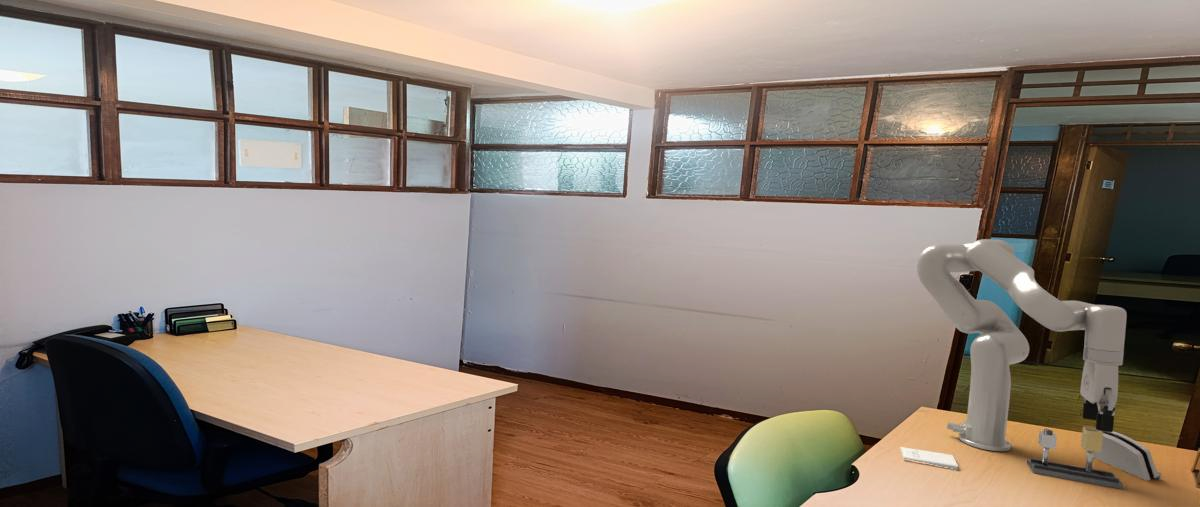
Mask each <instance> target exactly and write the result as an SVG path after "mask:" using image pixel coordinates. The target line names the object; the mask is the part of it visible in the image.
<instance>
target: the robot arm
mask: <svg viewBox="0 0 1200 507" xmlns="http://www.w3.org/2000/svg"><path fill="white" fill-rule="evenodd" d="M917 259H918V260H917V264H916V271H917V276H918V278H919V280H920V282H921V284H922V285H923V287H924V288H925V290H926V291H927V292H928V294H929V295H930V296H932V298H933V299H934V301H935V302H936V304H938V307H940V309H941V310H942V311H943V313H944V314H945V315H946V317H947V318H948V319H949V320H950V322H951V323H952V325H953V326H954V327H955V328H956V329H957V330H958V331H959V332H961V333H963V334H964V333H965V334H979V335H978V336H976V337H975V338H974V339H973V341H972V343H971V344H970V350H969V351H970V352H969V353H970V366H971V367H970V368H971V369H970V384H969V396H968V405H967V414H966V415H967V416H966V420H964V421H963V423H962V422H961V423H958V424H957V423H954V422H949V421H948V422H947V423H946V430H949V431H950V430H952V432H954V433H958V439H959V440H960V441H961V442H962V443H964V444H967V445H969V446H972V447H975V448H977V449H982V450H987V451H993V452H1008V451H1010V450H1012V444H1011V442H1010V441H1008V440H1007V439H1006V436H1007V426H1008V416H1009V407H1010V398H1011V387H1012V379H1011V371H1010V365H1015V364H1018V363H1021V362H1023V361H1025V360H1026V359H1027V358H1028V356H1029V353H1030V344H1029V342H1028V339H1027V338H1026V336H1025V335H1024V333H1022V331H1021V330H1020V329H1019V328H1018V327H1017V325H1016V324H1015V323H1014V322H1013V321H1012V319H1011V318H1010V317H1009V316H1008V315H1007V313H1006V312H1005V311H1004V310H1003V309H1002V308H1001V307H1000V306H999V305H997V303H995V302H994V301H991V300H986V299H975V297H974V296H972V294H971V293H970V292H969V291H968V290H967V289H966V287H965V286H964V285H963V284H962V282H960V281H959V280H957V279H956V278H955V277H954V276H953V275H952V274H951V273H963V272H965V273H966V272H977V271H979V272H980V273H982V274H983V275H984V276H985V277H987V278H988V279H990V280H991V281H992V282H994V284H995V283H996V284H997V285H998V287H999V286H1000V288H1002V289H1003V290H1005V291H1006V293H1008V294H1009V295H1010V298H1011V299H1012V301H1013V302H1014V303H1015V304H1016V305H1017V306H1018V308H1019V309H1020V310H1021V311H1023V312H1024V313H1025V314H1027V315H1028V316H1029V317H1030V318H1032V319H1033V320H1034V321H1036V322H1037V323H1039V324H1040V325H1041V326H1043V327H1045V328H1047V329H1049V330H1051V331H1054V332H1068V331H1069V332H1070V331H1084V344H1083V346H1084V347H1083V355H1082V360H1083V361H1084V364H1083V368H1082V369H1083V370H1082V373H1081V374H1082V375H1081V382H1080V390H1079V393H1080V396H1082V398H1083V407H1082V408H1083V409H1082V418H1083V419H1084V420H1091V421H1095V428H1096V429H1097V430H1099V431H1106V432H1113V431H1114V422H1115V421H1114V420H1115V416H1116V415H1115V414H1116V413H1115V411H1116V404H1117V401H1118V395H1119V394H1118V393H1119V391H1118V390H1119V366H1122V365H1123V363H1124V354H1125V351H1124V350H1125V340H1126V328H1127V317H1128V316H1127V314H1128V313H1127V311H1126V309H1124V308H1123V307H1119V306H1115V305H1106V304H1093V303H1088V302H1084V301H1080V300H1060V299H1058V298H1056V296H1054V295H1052V294H1051V293H1049V292H1048V291H1047V290H1045V289H1044V288H1043V287H1042V286H1040V284H1039V283H1038V282H1037V280H1036V279H1035V270H1034V269H1033V268H1032V267H1031V265H1028V264H1026V262H1024V261H1022V260H1021V259H1019V257H1016V255H1015V250H1014V248H1013V247H1012V245H1011V244H1009V243H1008V242H1006V241H1005V240H1002V239H989V238H985V239H984V238H982V239H978V240H975V241H973V242H971V243H963V244H962V243H961V244H960V243H959V244H957V243H955V244H954V243H953V244H952V243H950V244H949V243H938V244H933V245H930V246H927V247H926V248H925V249H924V250H922V251H921V252H920V255H919V256H918V258H917Z"/></svg>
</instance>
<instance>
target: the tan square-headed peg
mask: <svg viewBox="0 0 1200 507" xmlns="http://www.w3.org/2000/svg"><path fill="white" fill-rule="evenodd" d="M1081 433H1082V434H1081V440H1080V441H1081V443H1080V447H1081V448H1083V450H1084V451H1086V450H1087V454H1086V461H1085V467H1084V468H1085V469H1086V471H1088V472H1090V471H1091V470H1092V469H1093V460H1094V457H1093V453H1094V452H1099V453H1101V449H1102V441H1103V432H1102V431H1099V430H1097V429H1096V427H1090V426H1084V425H1083V426H1082V432H1081Z"/></svg>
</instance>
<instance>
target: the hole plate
mask: <svg viewBox="0 0 1200 507" xmlns="http://www.w3.org/2000/svg"><path fill="white" fill-rule="evenodd" d="M1038 431H1039V432H1038V438H1037V439H1038V442H1037V443H1038V444H1039V446H1040V447H1041V448H1043V450H1042V458H1041V459H1037V458H1033V457H1032V458H1028V457H1027V458H1026V464H1027V466H1028V467H1029V468H1030V470H1031V472H1032V473H1033V474H1037V475H1042V476H1048V477H1053V478H1060V479H1064V480H1069V481H1076V482H1081V483H1086V484H1092V485H1098V486H1103V487H1107V488H1114V489H1120V490H1124V483H1123V482H1122V481H1120V479H1119V478H1118V477H1117V476H1116V475H1115V474H1114V473H1113V471H1105V470H1100V469H1095V468H1092V470H1091V471H1090V472H1088V471H1086V469H1085V467H1083V466H1077V465H1076V466H1075V465H1073V464H1072V465H1071V464H1065V463H1061V462H1054V461H1049V455H1050V449H1052V450H1055V449H1057V448H1056V446H1057V439H1058V436H1057V435H1056V434H1055V433H1054V430H1051V429H1049V428H1044V429H1043V430H1038Z"/></svg>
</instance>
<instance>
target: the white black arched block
mask: <svg viewBox="0 0 1200 507" xmlns="http://www.w3.org/2000/svg"><path fill="white" fill-rule="evenodd" d="M1102 432H1103V441H1102V449H1101V453H1099V452H1094V453H1093V459H1096V460H1098V461H1100V460H1101V462H1102V463H1105V464H1107V463H1108V465H1109V464H1110V466H1112V467H1114V466H1115V467H1114V468H1116V467H1117V469H1118V468H1119V469H1118V470H1121V471H1123V470H1124V471H1123V472H1125V471H1126V473H1127V472H1128V474H1131V475H1132V474H1133V475H1132V476H1134V475H1135V476H1134V477H1137V478H1139V477H1140V478H1139V479H1141V478H1142V479H1141V480H1143V479H1144V481H1147V480H1148V481H1151V478H1154V479H1157V478H1158V479H1157V480H1159V479H1160V480H1159V481H1162V480H1163V478H1162V474H1161V472H1158V471H1157V469H1156V468H1157V467H1156V465H1155V463H1154V459H1153V456H1152V453H1151V451H1150V449H1149V448H1147V447H1146V446H1144V445H1142V444H1141V443H1140V442H1138V441H1136V440H1134V439H1132V438H1131V437H1129V436H1127V435H1125V434H1122V433H1119V432H1116V431H1114V430H1113V432H1106V431H1102ZM1085 455H1087V450H1085ZM1161 479H1162V480H1161Z"/></svg>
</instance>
